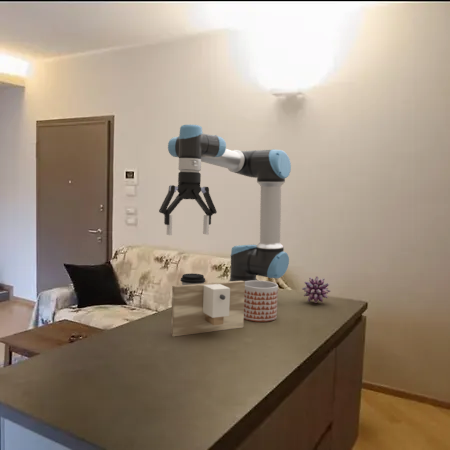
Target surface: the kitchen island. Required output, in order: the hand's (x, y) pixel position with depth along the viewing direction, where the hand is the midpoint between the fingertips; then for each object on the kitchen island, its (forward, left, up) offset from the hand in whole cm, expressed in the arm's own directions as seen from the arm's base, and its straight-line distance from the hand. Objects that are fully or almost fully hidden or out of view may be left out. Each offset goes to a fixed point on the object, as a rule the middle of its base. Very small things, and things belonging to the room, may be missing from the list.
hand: (187, 234), depth 155 cm
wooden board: (+11, +5, -32) cm, 34 cm away
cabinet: (+13, +5, -25) cm, 28 cm away
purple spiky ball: (-9, +65, -32) cm, 73 cm away
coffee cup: (-12, +8, -32) cm, 35 cm away
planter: (0, +30, -32) cm, 44 cm away
